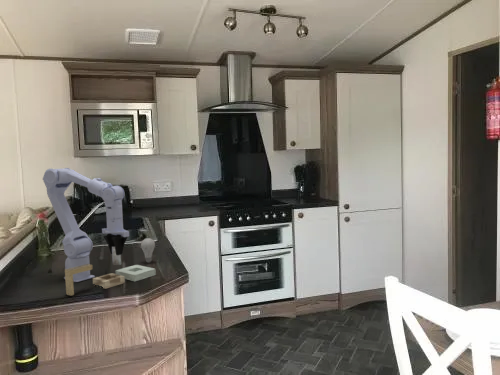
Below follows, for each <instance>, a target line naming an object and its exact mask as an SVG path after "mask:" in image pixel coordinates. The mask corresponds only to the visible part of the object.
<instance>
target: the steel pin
mask: <svg viewBox="0 0 500 375" xmlns="http://www.w3.org/2000/svg"><path fill="white" fill-rule="evenodd" d="M111 257H112V265H113V266H120V265H122V254H121V255H116V251H115V246H112V254H111Z"/></svg>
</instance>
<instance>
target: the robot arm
mask: <svg viewBox="0 0 500 375" xmlns="http://www.w3.org/2000/svg"><path fill="white" fill-rule="evenodd" d="M42 181H43V183H44V185H45V188H46V195H47V197H48V199H49V201H50V205H52V208H53V210H54V212H55V215H56V218H57V219H58V222H59V224H60V226H61V228H62V230H63V231H62V232H64V235H65V236H64V238H63V239H62V241H61V243H62V244H63V252H64V254H65V255H66V256H67V258H65V262H64V266H65V267H64V270H65V269H69V268H73V267H77V266H81V265H85V264H90V254H91V251H92V250H93V247H94V244H93V241H92V239H91V238H90V237H89V236H88V234H87V233H86V231H83V230H81V229H80V227H79V225H78V222H77V220H76V217H75V215H74V213H73V211H72V209H71V207H70V204H69V202H68V200H67V198H66V195H65V192H66V191H67V189H68V188H69V187H70V185H71V184H72V183H74V184H77V185H80V186H82V187H85V188H87V191H88V192H89V193H91V194H93V195H95V196H98V197H100V198H101V199H102V200H103V201H104V206H105V213H106V214H105V215H106V216H105V218H106V228H105V227H104V228H101V233H102V234H104V236H103V239H104V241H105V242H106V244H107V246H108V250H109V252H110V254H111V255H112V246H115V251H116V255H121V256H122V255H123V253H124V247H125V243H126V241H127V240H128V237H130V231H129V230H126V229H124V220H123V219H124V218H123V216H124V214H123V199H124V198H125V190H124V188H123V187H122V186H120V185H113V183H110V182H106V181H103V179H102V178H101V177H94V178H89V177H87V176H85V175H83V174H81V173H79V172H77V171H76V170H75V169H71V168H70V167H63V168H47V169H46V170H45V172H44V174H43V177H42ZM93 278H96V276H95V275H93V274H91V270H88V271H84V272H80V273H77V274H73V283H79V282H82V281H86V280H90V279H93ZM63 279H64V280H65V276H64V277H63Z"/></svg>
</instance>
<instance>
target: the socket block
mask: <svg viewBox="0 0 500 375" xmlns="http://www.w3.org/2000/svg"><path fill="white" fill-rule="evenodd" d="M125 280H126V279H124V276H121V275H117V274H116V273H112V272H111V273H107V274H103V275H100V276H95V277H94V278H92V285H93V284H95V285H99V286H102V287H103V288H102V289H109V288H112V287H116V286H118V285H122V284H125V283H126V282H125ZM95 285H94V286H95Z"/></svg>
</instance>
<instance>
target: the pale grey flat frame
mask: <svg viewBox="0 0 500 375" xmlns="http://www.w3.org/2000/svg"><path fill="white" fill-rule="evenodd" d="M156 270H157V269H156V268H153V267H149V266H145V265H140V264H134V265H131V266H126V267H122V268H119V269H116V270H115V271H114V272H115V274H117V275H121V276H124V279H125V280H126V281H131V282H138V281H141V280H144V279H149V278H150V277H154V276H156V275H157V273H156V272H157V271H156Z"/></svg>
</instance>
